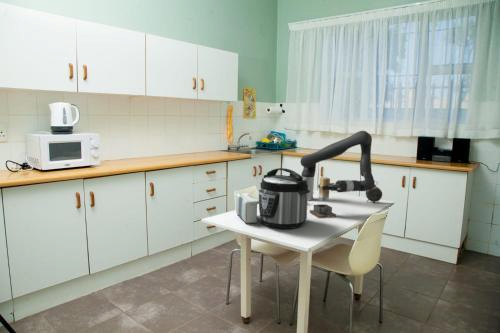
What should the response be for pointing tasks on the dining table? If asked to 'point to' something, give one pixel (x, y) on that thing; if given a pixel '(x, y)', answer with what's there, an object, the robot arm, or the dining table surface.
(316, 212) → the socket board
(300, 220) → the pressure cooker
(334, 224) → the dining table surface
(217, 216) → the dining table surface
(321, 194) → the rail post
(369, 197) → the alarm clock
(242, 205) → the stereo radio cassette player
